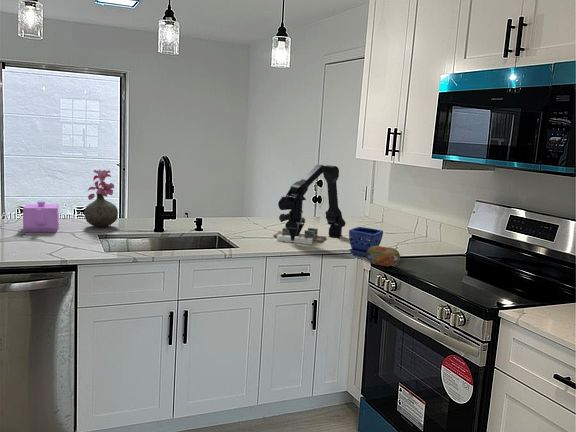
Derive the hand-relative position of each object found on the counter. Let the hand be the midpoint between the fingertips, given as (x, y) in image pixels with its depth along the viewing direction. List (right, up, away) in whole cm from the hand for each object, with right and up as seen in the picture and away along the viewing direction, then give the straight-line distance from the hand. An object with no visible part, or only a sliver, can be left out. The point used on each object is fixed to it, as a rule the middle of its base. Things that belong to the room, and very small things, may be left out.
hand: (294, 239), depth 276 cm
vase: (-102, +6, +7) cm, 103 cm away
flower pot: (+33, -7, -17) cm, 38 cm away
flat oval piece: (+39, -10, -36) cm, 54 cm away
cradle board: (+3, 0, +12) cm, 12 cm away
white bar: (0, -2, 0) cm, 2 cm away
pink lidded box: (-126, +5, -8) cm, 127 cm away
